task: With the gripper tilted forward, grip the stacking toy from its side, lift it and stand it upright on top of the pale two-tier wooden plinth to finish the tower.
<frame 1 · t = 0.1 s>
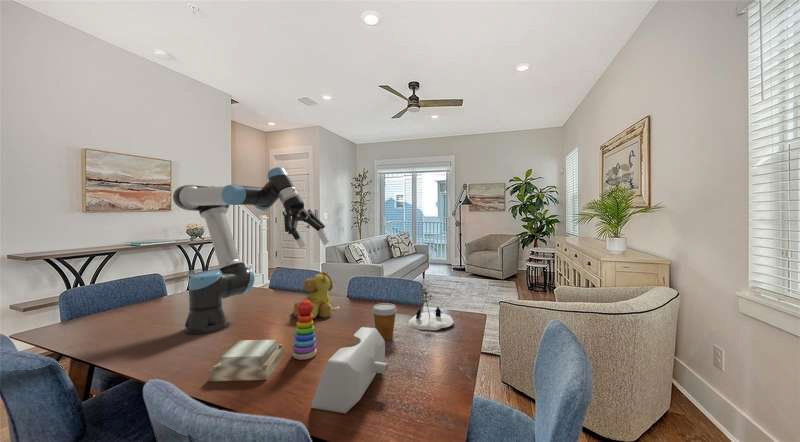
hand: (315, 244, 121), 36 cm above the table, fingers open, 13 cm apart
stacking toy: (304, 355, 105), on the table
plinth: (250, 366, 98), on the table
giraffe plush: (316, 313, 150), on the table
figurine: (430, 324, 136), on the table
disposable coffee cup: (384, 337, 121), on the table
tank: (359, 387, 86), on the table
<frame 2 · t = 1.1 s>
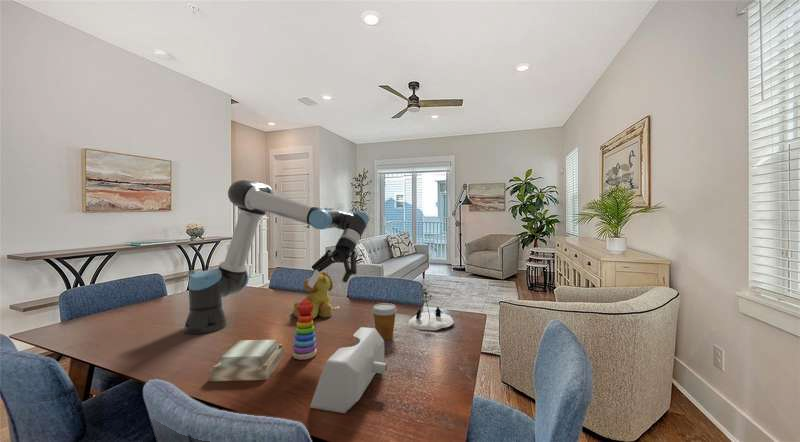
hand: (323, 287, 114), 21 cm above the table, fingers open, 13 cm apart
nothing on the table moved.
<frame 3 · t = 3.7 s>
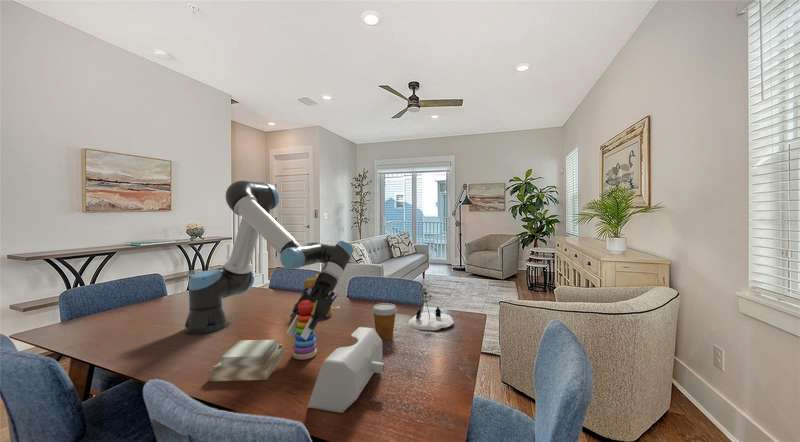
hand: (296, 336, 102), 8 cm above the table, fingers closed on stacking toy, 5 cm apart
stacking toy: (304, 355, 105), on the table, touching gripper
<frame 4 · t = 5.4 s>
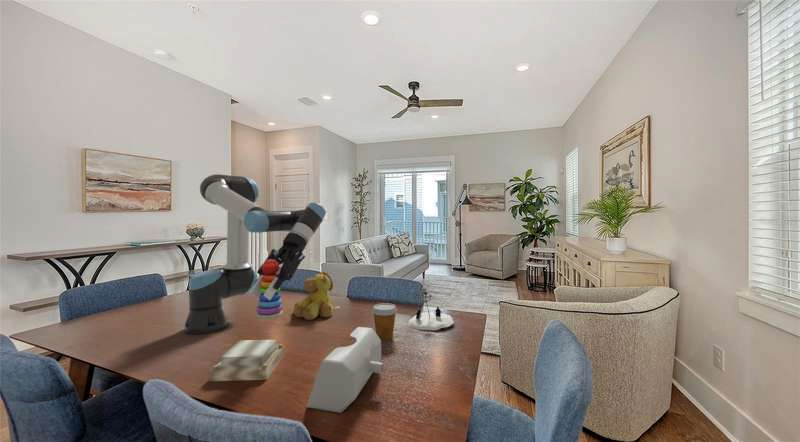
hand: (259, 296, 96), 23 cm above the table, fingers closed on stacking toy, 5 cm apart
stacking toy: (269, 318, 99), point 15 cm above the table, touching gripper
when the fingers open (15 cm above the table, at t = 7.5 s): stacking toy drops 1 cm, resting on plinth.
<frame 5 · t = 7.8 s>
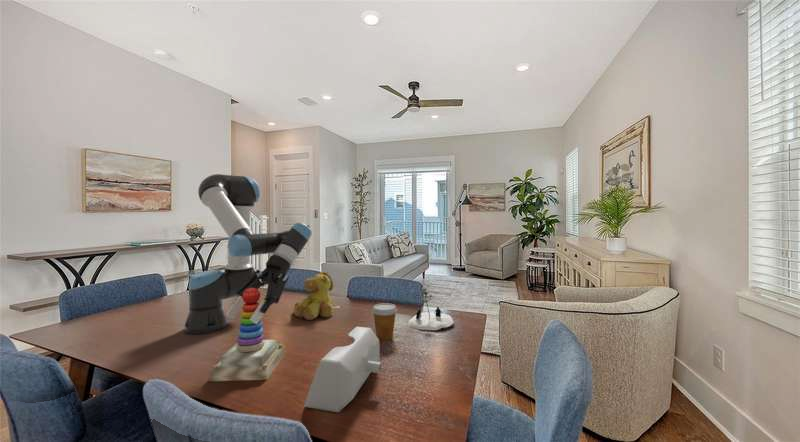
hand: (241, 319, 94), 16 cm above the table, fingers open, 10 cm apart
stacking toy: (250, 348, 97), point 6 cm above the table, touching plinth
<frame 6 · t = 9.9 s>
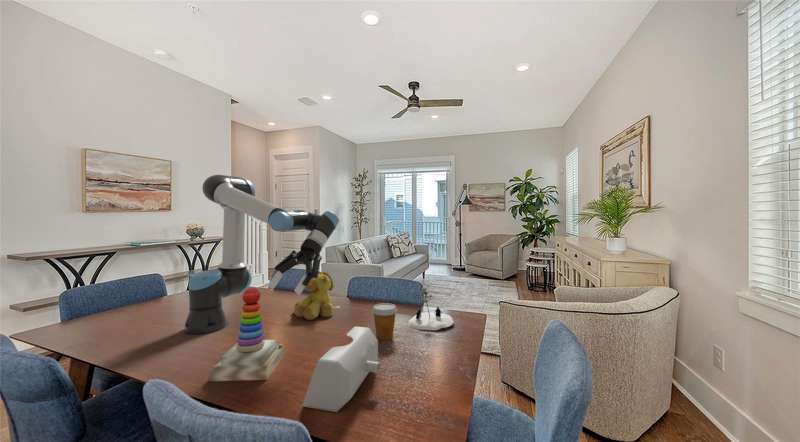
hand: (283, 290, 110), 21 cm above the table, fingers open, 13 cm apart
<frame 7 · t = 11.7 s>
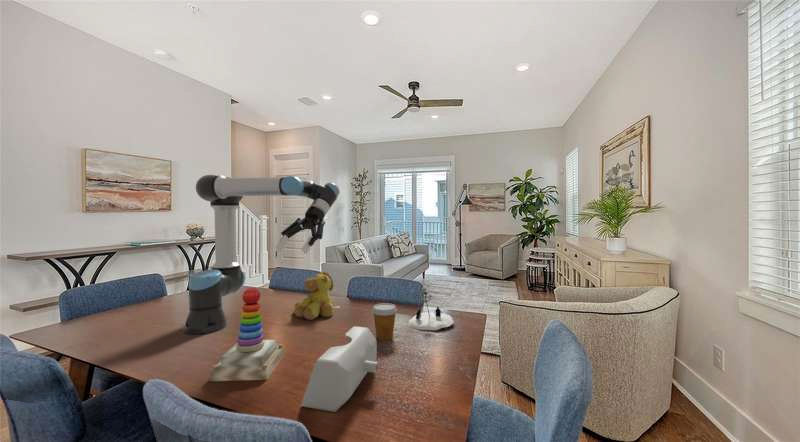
hand: (290, 250, 120), 34 cm above the table, fingers open, 13 cm apart
at the end: stacking toy inside the target area on the plinth (0.1 cm from its centre), point 5.8 cm above the plinth's base; stacking toy tilted 0°; the gripper is holding nothing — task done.
